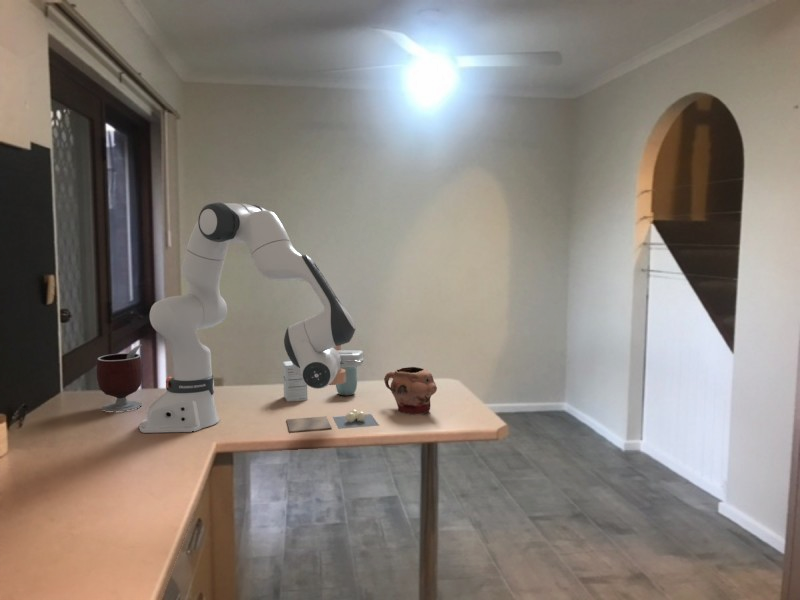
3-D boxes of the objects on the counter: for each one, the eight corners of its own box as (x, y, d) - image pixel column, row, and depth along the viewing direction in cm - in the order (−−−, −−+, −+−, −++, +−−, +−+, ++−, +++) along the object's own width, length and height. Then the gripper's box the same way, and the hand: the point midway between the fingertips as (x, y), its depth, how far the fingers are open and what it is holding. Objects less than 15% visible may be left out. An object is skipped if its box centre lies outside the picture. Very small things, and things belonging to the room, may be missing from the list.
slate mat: (338, 430, 182) (338, 428, 182) (332, 418, 194) (332, 417, 194) (379, 427, 185) (379, 425, 185) (371, 416, 197) (371, 414, 196)
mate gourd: (115, 416, 199) (112, 353, 197) (89, 409, 206) (86, 349, 204) (157, 404, 212) (154, 345, 210) (131, 399, 219) (128, 342, 217)
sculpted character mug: (373, 411, 202) (372, 368, 200) (393, 402, 212) (392, 362, 210) (427, 420, 191) (427, 375, 190) (446, 411, 202) (446, 368, 200)
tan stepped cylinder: (317, 385, 181) (317, 341, 180) (314, 379, 190) (313, 336, 188) (348, 384, 183) (347, 340, 182) (343, 377, 192) (342, 335, 191)
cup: (359, 391, 227) (358, 364, 226) (355, 397, 220) (355, 369, 219) (337, 391, 228) (337, 364, 227) (333, 396, 220) (333, 368, 219)
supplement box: (283, 396, 221) (282, 361, 220) (304, 395, 223) (303, 359, 222) (286, 402, 214) (285, 365, 213) (308, 400, 216) (307, 364, 215)
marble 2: (346, 424, 186) (346, 414, 186) (345, 421, 189) (344, 411, 189) (356, 423, 187) (356, 413, 187) (354, 420, 190) (354, 410, 189)
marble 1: (350, 421, 189) (350, 411, 189) (348, 418, 192) (348, 408, 192) (360, 420, 190) (360, 410, 190) (358, 417, 193) (358, 408, 192)
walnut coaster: (289, 434, 179) (289, 431, 179) (286, 422, 190) (286, 419, 190) (331, 431, 182) (331, 427, 181) (326, 419, 193) (326, 416, 193)
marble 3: (357, 423, 187) (356, 413, 187) (355, 420, 190) (355, 410, 189) (366, 422, 188) (366, 412, 187) (365, 419, 191) (364, 410, 190)
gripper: (362, 351, 172) (365, 342, 186) (287, 351, 173) (296, 342, 186) (362, 374, 173) (365, 363, 187) (288, 373, 173) (296, 363, 187)
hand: (330, 353), depth 187 cm, fingers closed on tan stepped cylinder, 6 cm apart
